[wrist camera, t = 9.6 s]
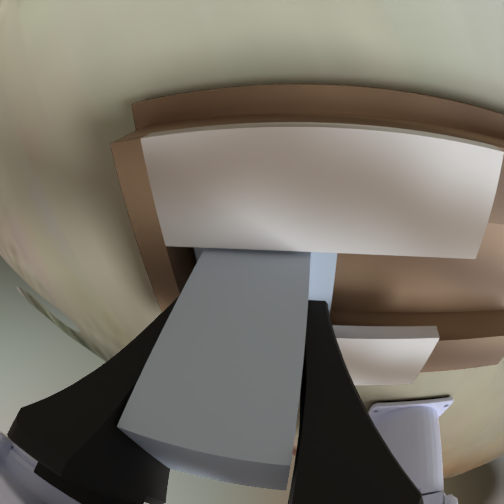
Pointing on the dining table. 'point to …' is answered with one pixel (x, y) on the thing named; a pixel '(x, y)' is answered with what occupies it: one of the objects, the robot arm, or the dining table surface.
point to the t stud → (231, 366)
